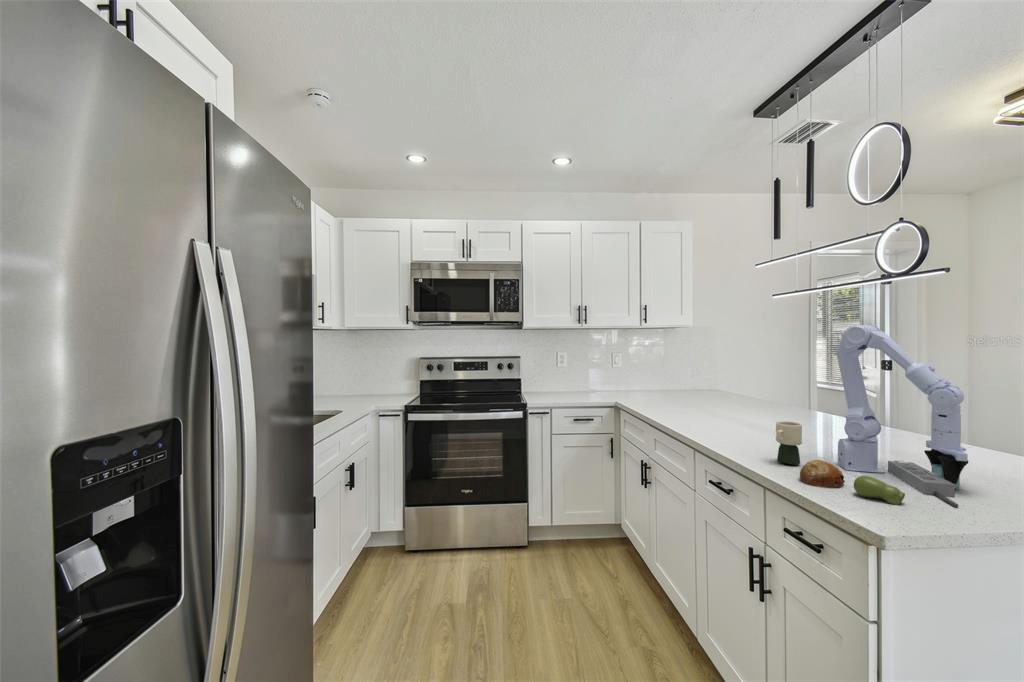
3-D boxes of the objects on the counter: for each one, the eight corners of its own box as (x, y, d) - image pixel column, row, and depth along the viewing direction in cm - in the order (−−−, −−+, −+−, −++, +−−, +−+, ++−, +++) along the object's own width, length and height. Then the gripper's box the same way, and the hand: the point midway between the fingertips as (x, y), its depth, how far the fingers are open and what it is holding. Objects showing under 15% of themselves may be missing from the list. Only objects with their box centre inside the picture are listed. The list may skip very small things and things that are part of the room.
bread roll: (809, 488, 130) (795, 461, 132) (849, 479, 124) (834, 451, 126) (805, 497, 122) (791, 469, 124) (847, 489, 116) (831, 459, 118)
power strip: (944, 506, 106) (945, 491, 106) (887, 471, 133) (887, 458, 133) (977, 509, 104) (977, 493, 104) (912, 473, 131) (912, 460, 131)
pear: (858, 470, 117) (908, 486, 109) (854, 489, 117) (903, 506, 110) (853, 475, 113) (905, 491, 105) (849, 494, 114) (899, 512, 106)
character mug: (788, 458, 147) (788, 419, 147) (810, 464, 141) (810, 423, 140) (766, 463, 142) (766, 422, 142) (788, 469, 136) (788, 427, 136)
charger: (933, 486, 119) (933, 468, 119) (924, 481, 123) (924, 463, 123) (960, 488, 117) (960, 469, 117) (950, 483, 121) (950, 465, 121)
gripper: (983, 437, 112) (982, 491, 112) (948, 425, 125) (947, 473, 125) (947, 435, 114) (947, 488, 114) (917, 424, 128) (916, 471, 128)
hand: (945, 480), depth 120 cm, fingers open, 4 cm apart
